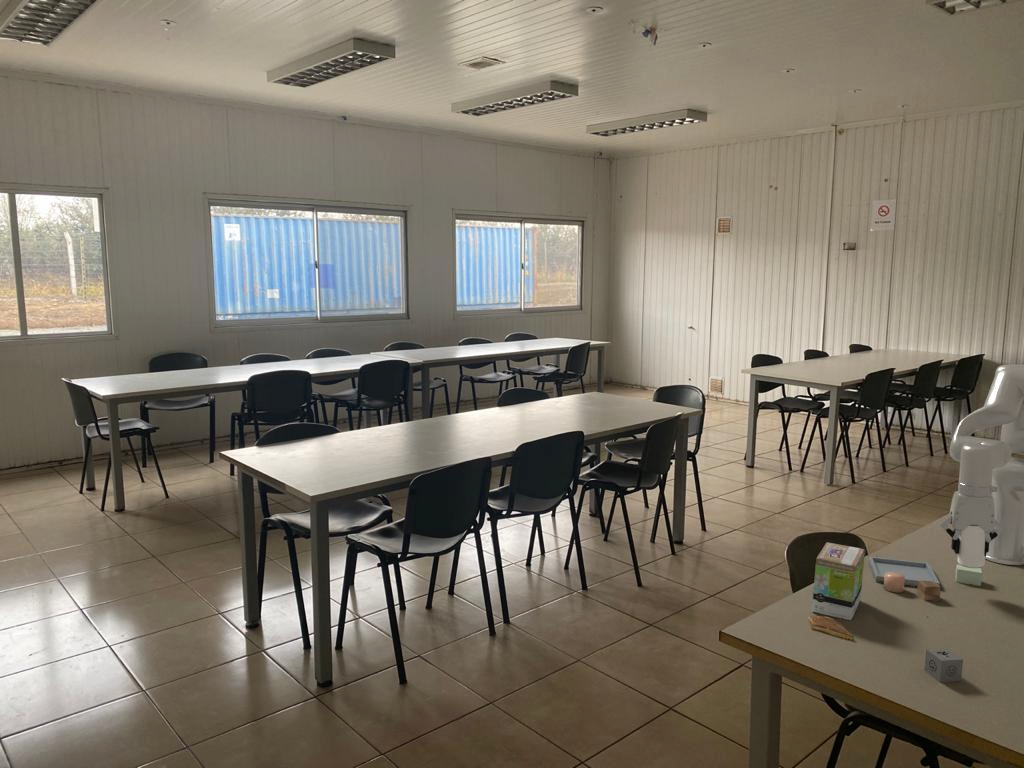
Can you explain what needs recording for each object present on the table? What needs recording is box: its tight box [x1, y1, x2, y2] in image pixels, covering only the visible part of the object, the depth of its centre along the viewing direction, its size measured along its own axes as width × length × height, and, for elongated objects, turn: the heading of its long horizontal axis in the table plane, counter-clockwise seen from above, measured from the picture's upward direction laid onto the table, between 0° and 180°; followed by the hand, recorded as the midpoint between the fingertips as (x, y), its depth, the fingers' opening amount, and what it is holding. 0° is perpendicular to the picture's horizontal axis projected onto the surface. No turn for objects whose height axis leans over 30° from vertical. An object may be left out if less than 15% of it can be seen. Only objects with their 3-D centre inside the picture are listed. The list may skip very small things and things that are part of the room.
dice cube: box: [924, 647, 964, 683], centre depth 165 cm, size 5×5×5 cm
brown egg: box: [883, 572, 905, 594], centre depth 211 cm, size 5×5×4 cm
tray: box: [868, 556, 941, 588], centre depth 221 cm, size 16×16×2 cm
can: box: [957, 525, 986, 569], centre depth 207 cm, size 6×6×12 cm
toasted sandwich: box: [808, 615, 855, 641], centre depth 186 cm, size 11×8×2 cm
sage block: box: [954, 564, 983, 587], centre depth 217 cm, size 6×4×4 cm, turn 63°
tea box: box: [811, 542, 866, 621], centre depth 199 cm, size 15×10×15 cm, turn 148°
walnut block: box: [916, 581, 941, 602], centre depth 206 cm, size 4×4×4 cm
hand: (969, 552), depth 208 cm, fingers closed on can, 5 cm apart
